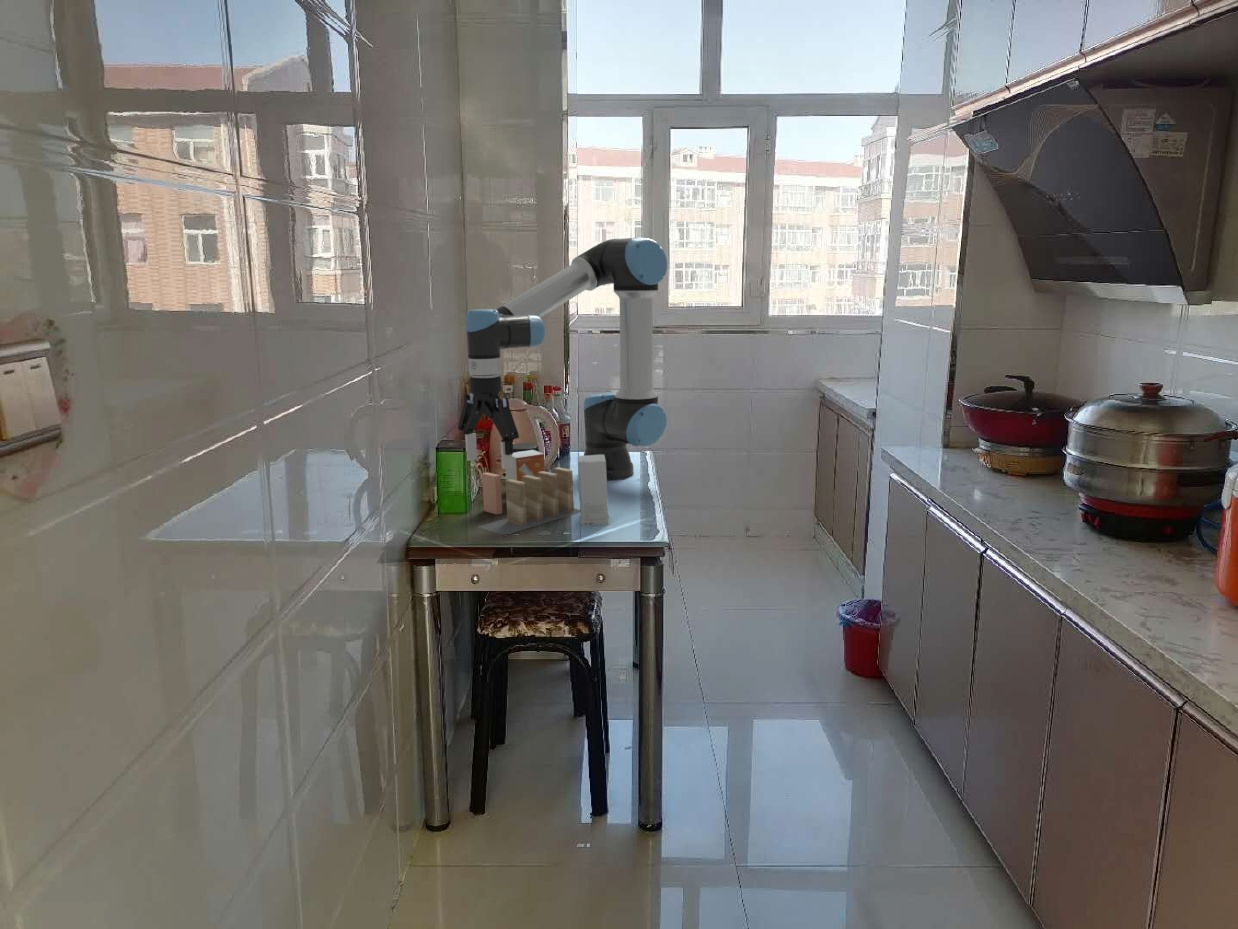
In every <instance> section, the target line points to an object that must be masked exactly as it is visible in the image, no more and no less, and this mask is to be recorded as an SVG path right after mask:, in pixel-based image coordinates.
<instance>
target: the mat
mask: <svg viewBox="0 0 1238 929" xmlns="http://www.w3.org/2000/svg"><path fill="white" fill-rule="evenodd" d="M558 510H559V515H556V516H551V515H547V514H543V520H539V521H536V520H533V519H529V518H527V524H526V525H522V526H521V525H517V524H513V523H510V522H508V519H507V518H503V519H499V520H496V521H493V522H490V523H489V522H488V523H486V524H483V525H479V526H477V528H478V529H481V530H485V531H489V532H491V533H495V534H498V535H502V536H506V535H510V534H514V533H517V532H520V531H523V530H526V529H529V528H533V527H536V526H541V525H543V524H546V523H550V522H553V521H556V520H560V519H563V518H566V517H569V516H572V515H573V516H574V515H577V514H581V512H580V508H579V509H578V508H575V507H574V510H573V511H570V512H568V511H564V510H561V509H558Z"/></svg>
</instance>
